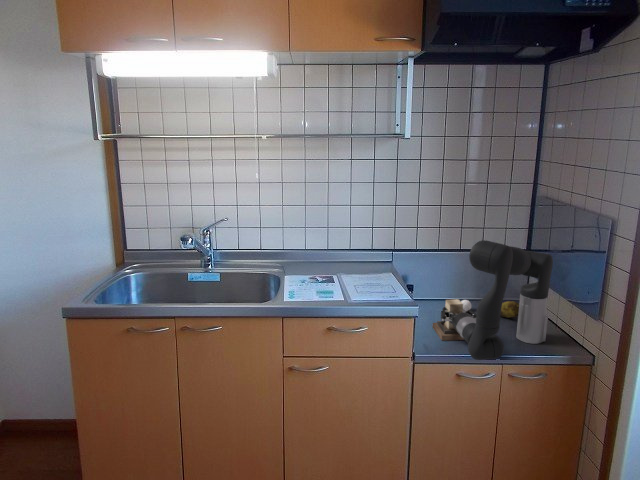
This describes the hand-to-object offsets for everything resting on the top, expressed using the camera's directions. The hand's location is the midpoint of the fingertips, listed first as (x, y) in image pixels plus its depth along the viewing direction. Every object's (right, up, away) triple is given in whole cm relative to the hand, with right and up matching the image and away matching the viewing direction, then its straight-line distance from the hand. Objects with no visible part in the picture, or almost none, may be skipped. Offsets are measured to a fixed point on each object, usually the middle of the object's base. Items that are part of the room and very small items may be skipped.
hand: (451, 309), depth 187 cm
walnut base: (0, -9, 0) cm, 9 cm away
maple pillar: (0, -7, -1) cm, 7 cm away
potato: (+26, -6, +14) cm, 30 cm away
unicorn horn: (+6, -6, +15) cm, 17 cm away
